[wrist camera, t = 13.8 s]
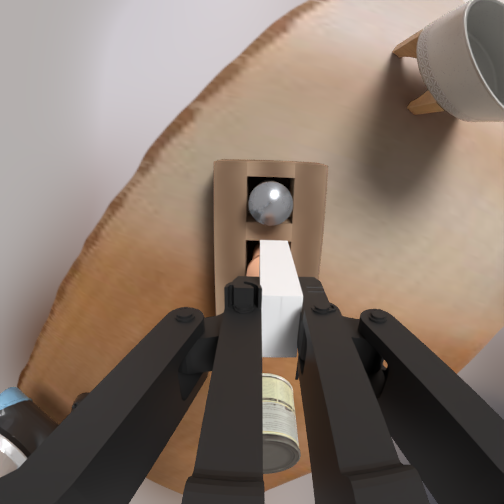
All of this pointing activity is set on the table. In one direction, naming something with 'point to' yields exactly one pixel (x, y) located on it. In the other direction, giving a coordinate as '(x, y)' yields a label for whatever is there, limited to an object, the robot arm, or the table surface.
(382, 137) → the table surface
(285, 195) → the grey plug
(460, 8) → the planter
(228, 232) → the wooden slotted block
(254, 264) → the terracotta plug
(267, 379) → the coffee can
